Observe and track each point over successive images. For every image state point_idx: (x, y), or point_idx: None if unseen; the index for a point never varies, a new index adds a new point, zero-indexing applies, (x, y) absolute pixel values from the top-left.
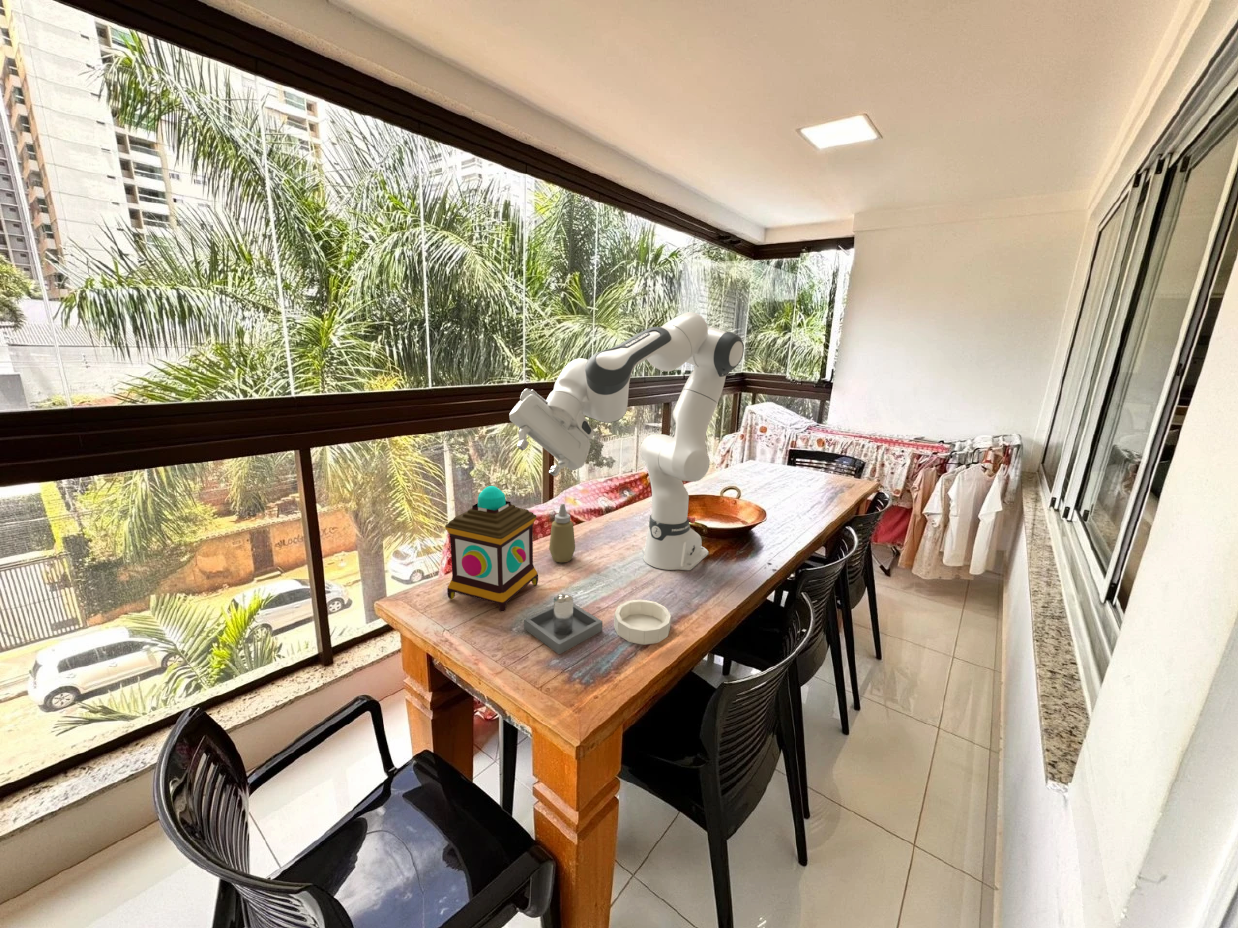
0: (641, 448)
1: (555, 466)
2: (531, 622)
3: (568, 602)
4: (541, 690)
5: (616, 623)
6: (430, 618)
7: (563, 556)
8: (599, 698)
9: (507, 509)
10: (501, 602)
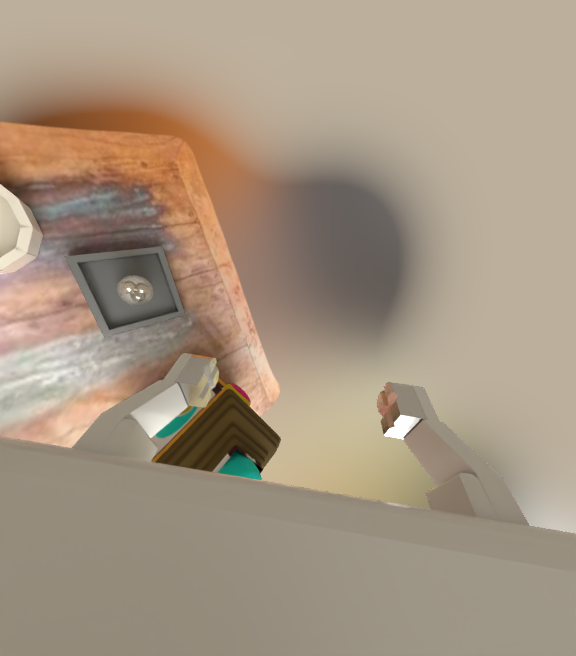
0: None
1: (202, 376)
2: (179, 304)
3: (131, 278)
4: (196, 217)
5: (34, 240)
6: (255, 367)
7: None
8: (140, 159)
9: (207, 470)
10: None
